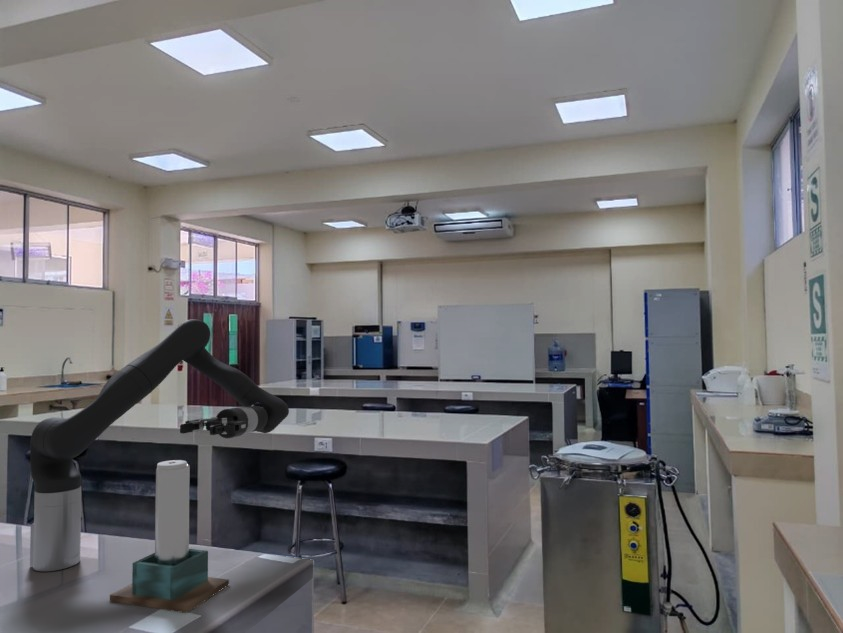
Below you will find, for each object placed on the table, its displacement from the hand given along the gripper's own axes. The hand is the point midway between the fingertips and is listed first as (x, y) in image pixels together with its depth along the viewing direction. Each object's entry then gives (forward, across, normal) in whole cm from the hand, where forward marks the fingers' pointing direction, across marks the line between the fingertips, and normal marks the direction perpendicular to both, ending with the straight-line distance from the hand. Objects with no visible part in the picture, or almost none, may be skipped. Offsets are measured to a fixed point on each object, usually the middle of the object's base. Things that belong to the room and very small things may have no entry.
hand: (196, 429), depth 142 cm
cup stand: (+18, +9, +30) cm, 36 cm away
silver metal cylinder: (+18, +9, +29) cm, 35 cm away
